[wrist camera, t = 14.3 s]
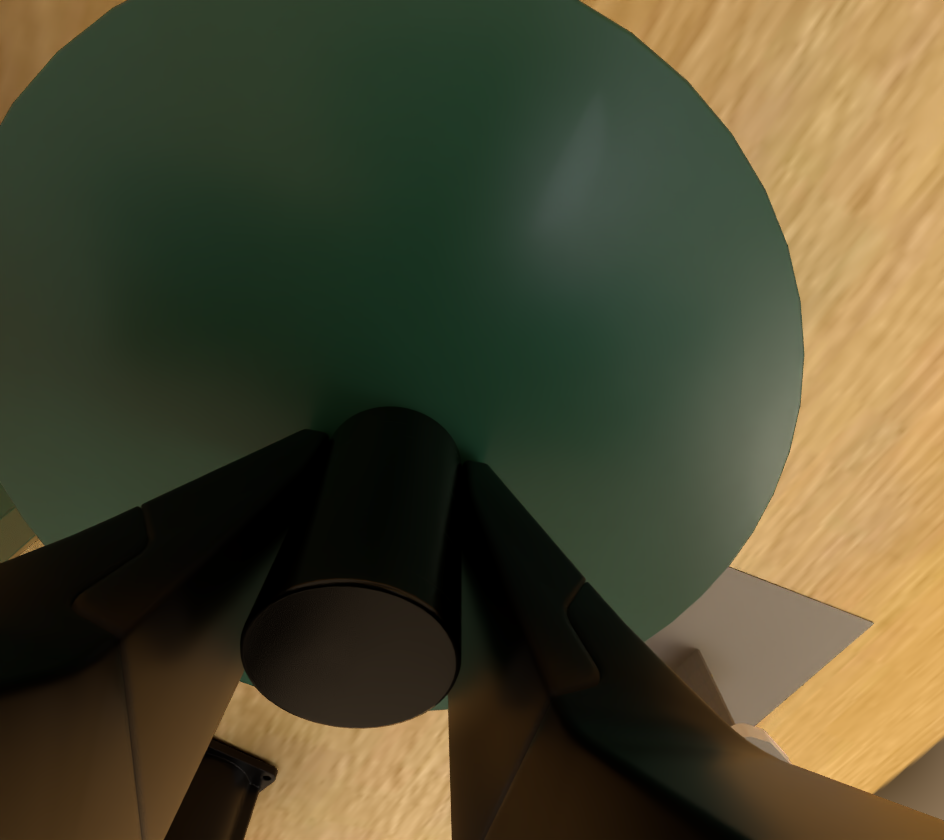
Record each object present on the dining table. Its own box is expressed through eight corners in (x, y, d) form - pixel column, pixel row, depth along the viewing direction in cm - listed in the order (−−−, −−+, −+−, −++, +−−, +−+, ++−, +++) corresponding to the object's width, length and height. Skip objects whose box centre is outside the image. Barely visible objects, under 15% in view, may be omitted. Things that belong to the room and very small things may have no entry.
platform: (874, 623, 25) (1001, 766, 19) (661, 805, 32) (705, 949, 26) (672, 545, 22) (747, 683, 16) (492, 763, 30) (499, 910, 24)
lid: (942, 286, 9) (1441, 422, 4) (523, 728, 15) (551, 987, 10) (80, -331, 6) (-1596, -2472, 1) (-28, 553, 11) (-358, 821, 7)
